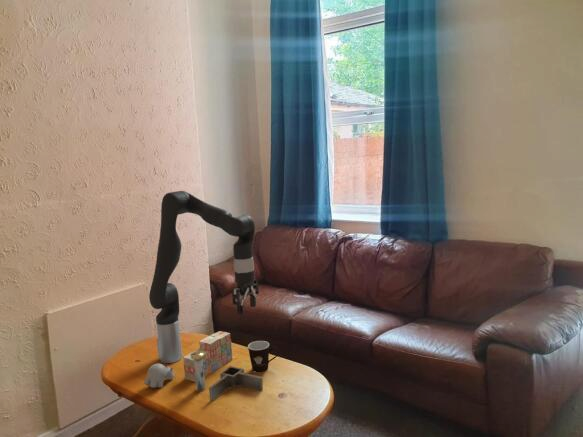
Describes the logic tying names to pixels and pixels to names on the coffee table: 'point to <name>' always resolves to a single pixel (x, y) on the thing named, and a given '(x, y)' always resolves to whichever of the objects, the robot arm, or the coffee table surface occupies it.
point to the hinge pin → (199, 369)
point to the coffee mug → (260, 355)
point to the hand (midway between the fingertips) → (247, 310)
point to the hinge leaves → (234, 381)
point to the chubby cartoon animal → (158, 375)
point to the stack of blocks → (210, 354)
